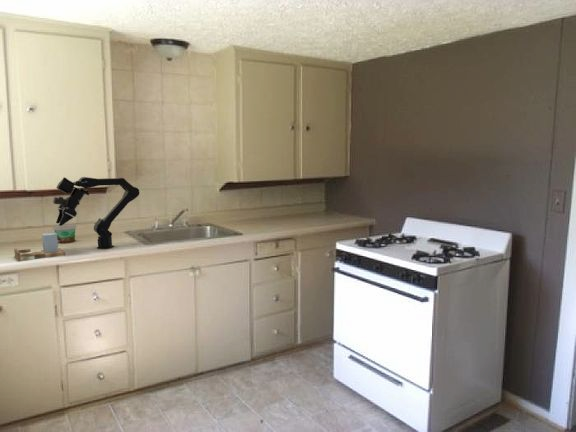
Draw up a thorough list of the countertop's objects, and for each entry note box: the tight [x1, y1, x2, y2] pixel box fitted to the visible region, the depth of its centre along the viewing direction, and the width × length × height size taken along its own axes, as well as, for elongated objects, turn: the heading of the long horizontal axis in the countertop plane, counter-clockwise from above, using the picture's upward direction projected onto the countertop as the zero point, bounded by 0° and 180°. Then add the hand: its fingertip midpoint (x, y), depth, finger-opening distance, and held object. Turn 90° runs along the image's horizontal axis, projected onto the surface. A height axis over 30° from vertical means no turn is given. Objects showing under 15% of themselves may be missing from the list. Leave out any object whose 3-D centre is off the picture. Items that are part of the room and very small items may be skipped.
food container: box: [52, 224, 77, 244], centre depth 269 cm, size 12×6×10 cm, turn 126°
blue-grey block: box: [41, 232, 59, 253], centre depth 239 cm, size 6×5×9 cm
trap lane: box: [14, 247, 66, 262], centre depth 236 cm, size 21×12×4 cm, turn 127°
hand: (58, 224), depth 241 cm, fingers open, 9 cm apart
